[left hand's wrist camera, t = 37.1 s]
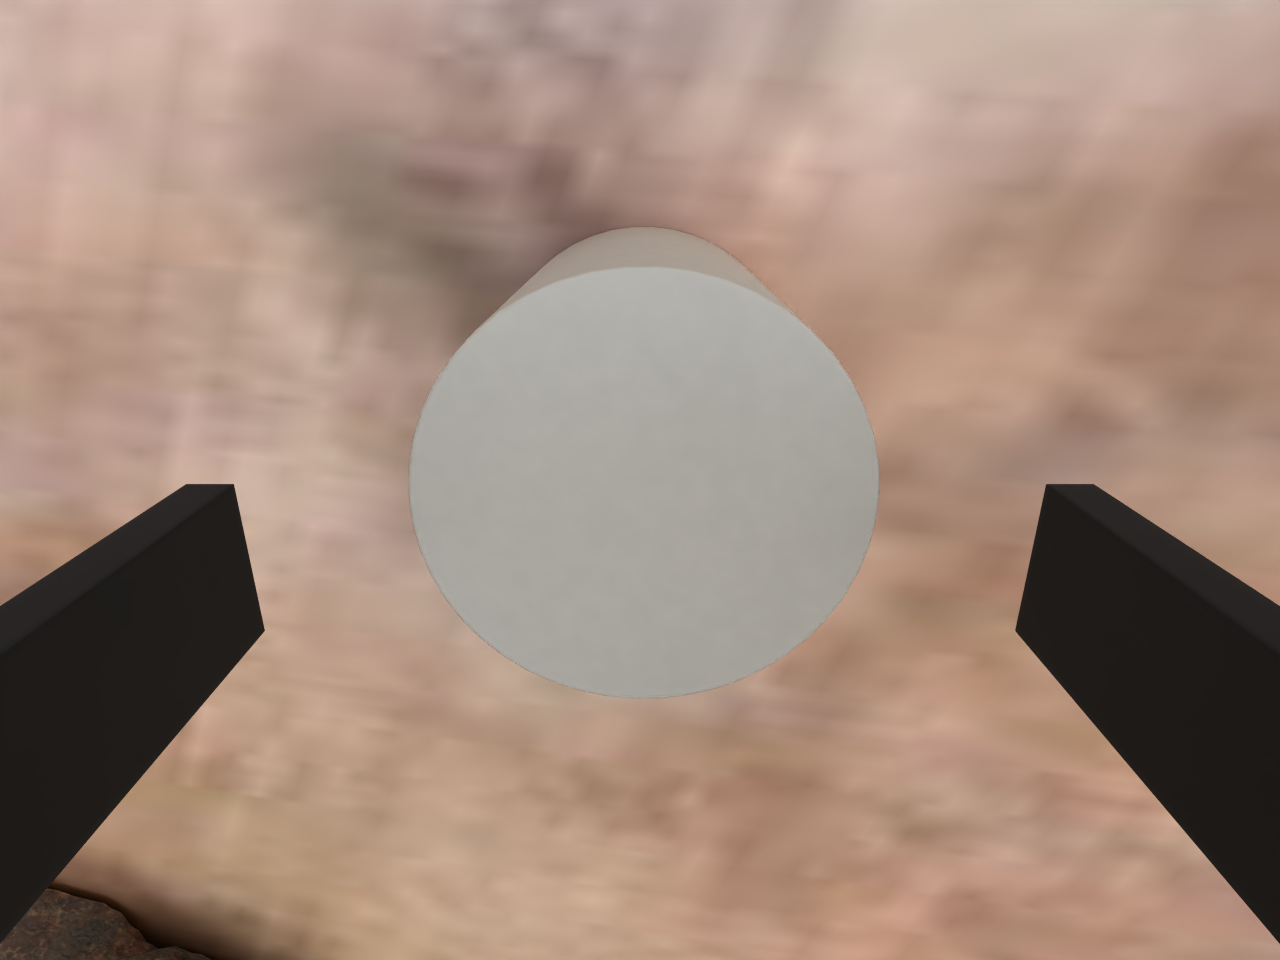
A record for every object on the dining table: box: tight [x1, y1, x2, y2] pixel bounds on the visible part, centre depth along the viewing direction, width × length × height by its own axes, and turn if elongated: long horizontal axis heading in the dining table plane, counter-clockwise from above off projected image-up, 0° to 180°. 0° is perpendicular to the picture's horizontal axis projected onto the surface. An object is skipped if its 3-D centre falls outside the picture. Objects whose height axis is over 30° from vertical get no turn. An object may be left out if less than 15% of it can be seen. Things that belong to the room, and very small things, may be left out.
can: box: [409, 227, 879, 698], centre depth 17 cm, size 8×8×9 cm
